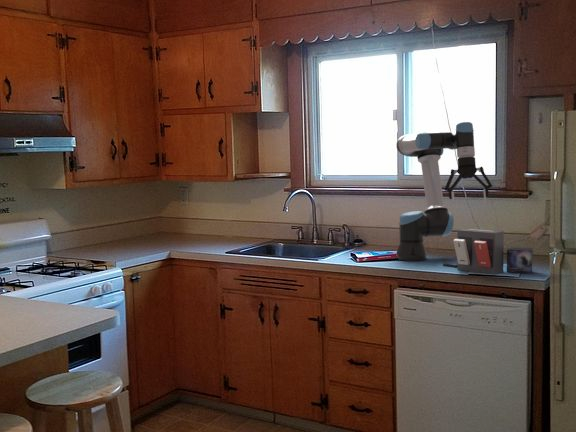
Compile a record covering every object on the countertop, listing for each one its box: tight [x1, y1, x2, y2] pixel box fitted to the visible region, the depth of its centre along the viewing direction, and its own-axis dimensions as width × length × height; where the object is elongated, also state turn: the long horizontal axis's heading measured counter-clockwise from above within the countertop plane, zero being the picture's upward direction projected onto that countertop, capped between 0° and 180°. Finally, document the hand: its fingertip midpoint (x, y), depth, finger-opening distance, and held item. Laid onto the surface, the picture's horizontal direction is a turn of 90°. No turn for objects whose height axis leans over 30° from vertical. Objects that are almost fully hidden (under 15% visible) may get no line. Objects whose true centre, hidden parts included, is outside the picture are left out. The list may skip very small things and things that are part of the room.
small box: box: [506, 246, 533, 275], centre depth 285 cm, size 11×6×10 cm, turn 69°
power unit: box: [442, 227, 505, 275], centre depth 293 cm, size 28×9×18 cm, turn 46°
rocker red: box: [474, 241, 491, 267], centre depth 281 cm, size 5×2×12 cm, turn 46°
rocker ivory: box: [453, 238, 470, 265], centre depth 288 cm, size 5×2×12 cm, turn 46°
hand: (469, 205), depth 286 cm, fingers open, 13 cm apart
